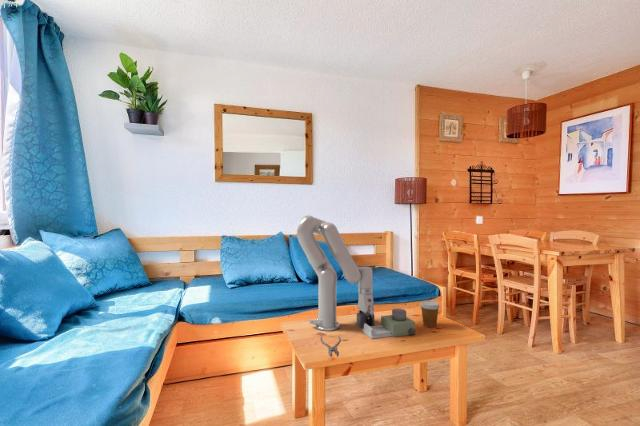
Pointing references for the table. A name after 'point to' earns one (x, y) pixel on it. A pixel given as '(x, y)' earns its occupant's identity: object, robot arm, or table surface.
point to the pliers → (331, 347)
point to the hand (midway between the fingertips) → (365, 322)
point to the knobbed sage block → (391, 326)
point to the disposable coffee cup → (429, 313)
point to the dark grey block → (362, 319)
